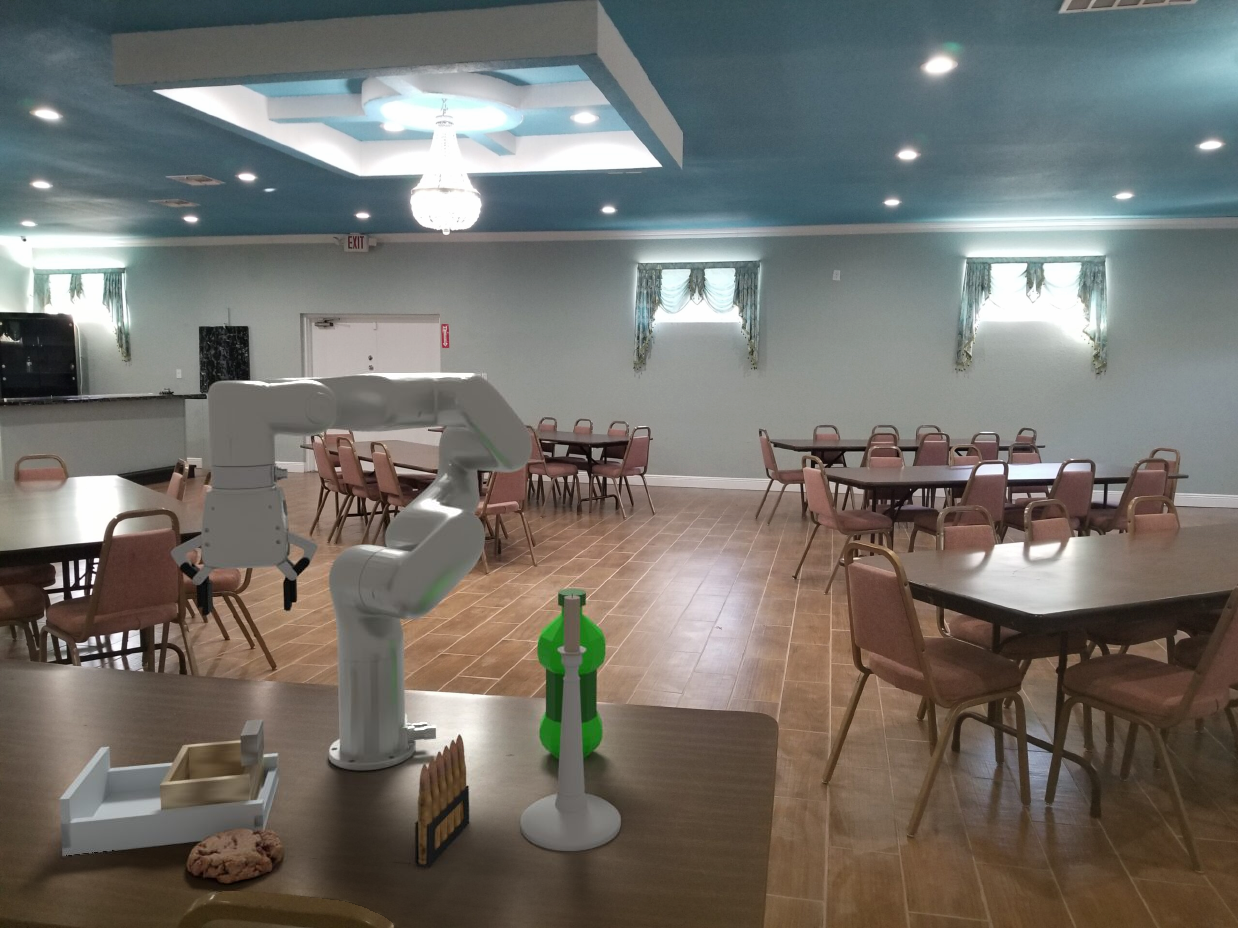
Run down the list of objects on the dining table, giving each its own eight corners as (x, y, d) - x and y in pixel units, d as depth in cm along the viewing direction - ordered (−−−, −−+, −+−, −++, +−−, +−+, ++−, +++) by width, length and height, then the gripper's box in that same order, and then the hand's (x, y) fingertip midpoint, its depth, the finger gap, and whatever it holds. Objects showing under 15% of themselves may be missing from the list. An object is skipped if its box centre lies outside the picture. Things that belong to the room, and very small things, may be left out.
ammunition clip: (456, 820, 110) (456, 730, 109) (469, 822, 110) (469, 732, 108) (414, 865, 100) (413, 766, 99) (428, 868, 99) (427, 768, 98)
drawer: (268, 778, 119) (266, 709, 118) (255, 820, 107) (252, 745, 106) (184, 786, 116) (182, 716, 115) (161, 830, 105) (158, 753, 104)
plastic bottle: (550, 736, 136) (550, 581, 134) (613, 744, 133) (615, 586, 131) (525, 763, 127) (526, 597, 124) (594, 773, 124) (595, 603, 121)
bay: (278, 780, 120) (277, 732, 120) (263, 833, 106) (261, 779, 106) (103, 797, 115) (101, 747, 114) (62, 856, 101) (59, 799, 100)
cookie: (198, 846, 104) (197, 822, 104) (290, 836, 106) (290, 813, 106) (175, 894, 94) (174, 868, 94) (277, 882, 97) (277, 857, 96)
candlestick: (622, 800, 116) (624, 582, 113) (619, 852, 103) (622, 607, 100) (527, 798, 116) (527, 580, 113) (513, 849, 104) (513, 605, 101)
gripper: (318, 473, 115) (321, 599, 116) (175, 476, 110) (181, 606, 112) (313, 480, 108) (317, 614, 109) (161, 483, 103) (167, 623, 105)
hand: (248, 610), depth 111 cm, fingers open, 9 cm apart
